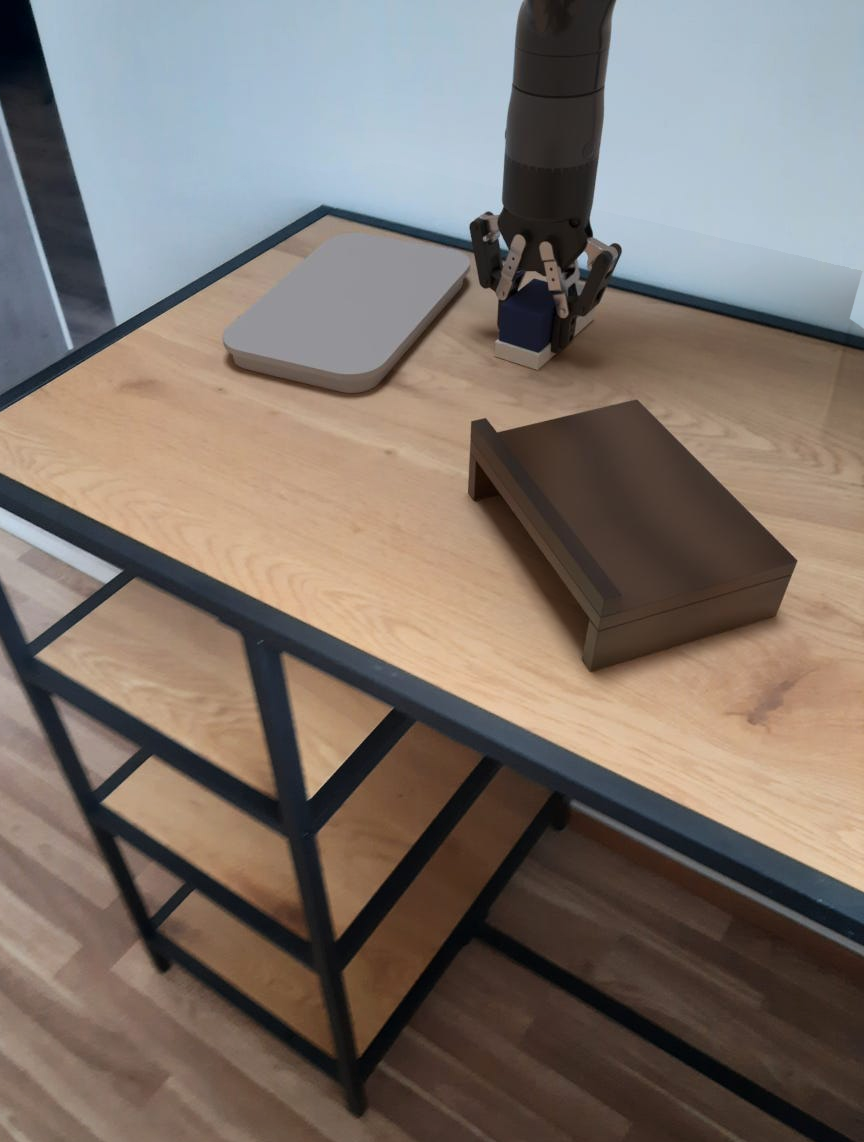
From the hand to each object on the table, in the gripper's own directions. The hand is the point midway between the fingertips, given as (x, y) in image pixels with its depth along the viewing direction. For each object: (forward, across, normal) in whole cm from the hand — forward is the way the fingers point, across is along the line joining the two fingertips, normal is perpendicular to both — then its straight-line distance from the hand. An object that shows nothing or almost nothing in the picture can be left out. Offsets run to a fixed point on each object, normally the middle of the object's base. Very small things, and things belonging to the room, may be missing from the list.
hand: (533, 341), depth 87 cm
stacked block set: (+1, 0, -2) cm, 2 cm away
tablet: (+1, +18, +5) cm, 18 cm away
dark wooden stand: (+1, -19, +22) cm, 29 cm away
